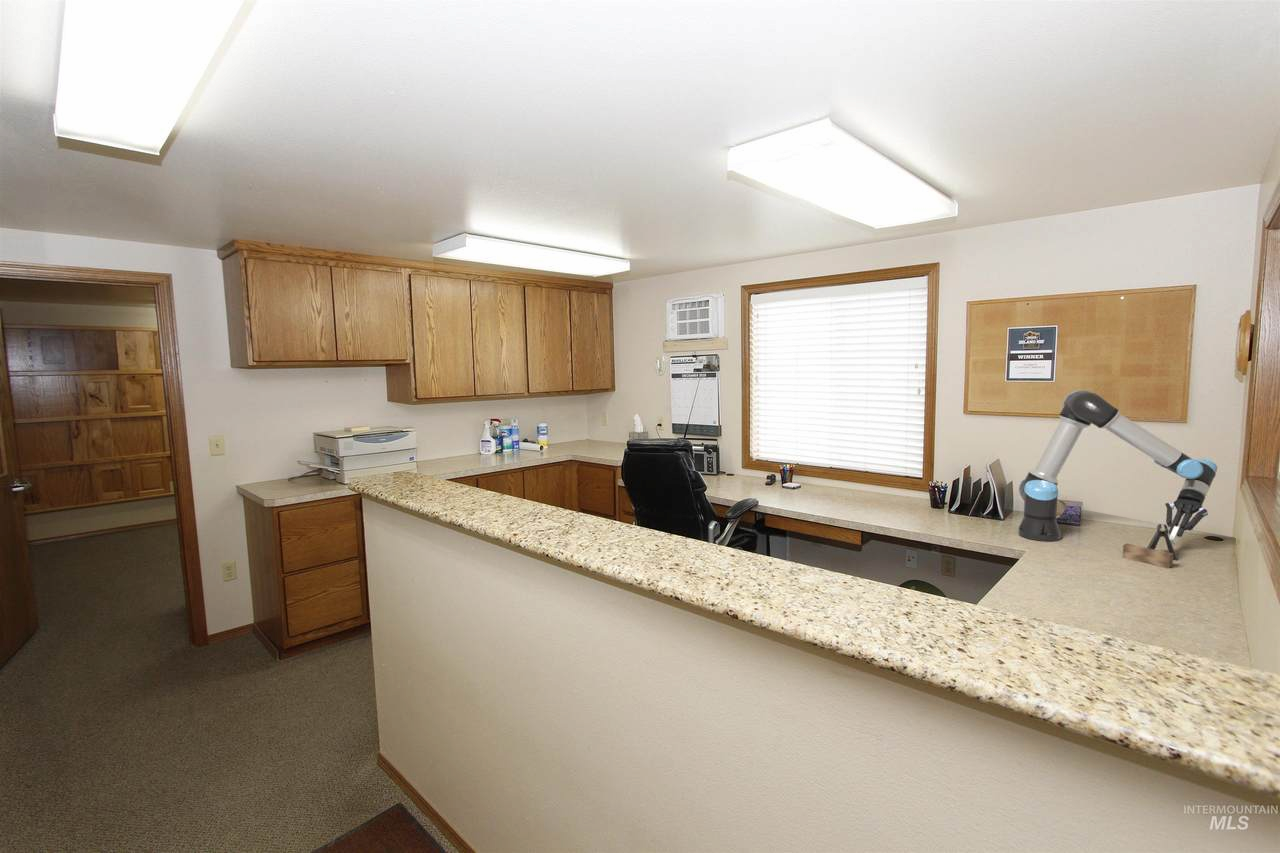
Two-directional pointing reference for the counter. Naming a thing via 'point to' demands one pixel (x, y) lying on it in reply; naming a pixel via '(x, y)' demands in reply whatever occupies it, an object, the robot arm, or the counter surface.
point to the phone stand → (1165, 534)
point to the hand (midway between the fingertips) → (1171, 541)
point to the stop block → (1148, 555)
